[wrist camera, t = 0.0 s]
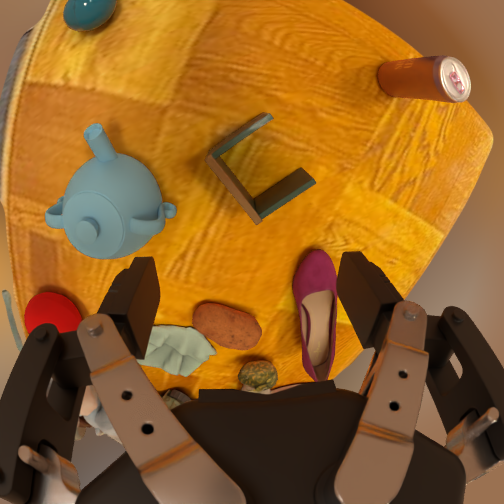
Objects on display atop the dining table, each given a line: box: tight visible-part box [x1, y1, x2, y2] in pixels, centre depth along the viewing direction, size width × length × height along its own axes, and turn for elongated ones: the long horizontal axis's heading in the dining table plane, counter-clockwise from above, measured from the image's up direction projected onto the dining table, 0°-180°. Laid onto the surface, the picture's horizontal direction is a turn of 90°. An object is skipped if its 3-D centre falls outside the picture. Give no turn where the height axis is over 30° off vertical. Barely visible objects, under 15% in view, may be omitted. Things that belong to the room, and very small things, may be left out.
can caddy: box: [204, 113, 316, 225], centre depth 35 cm, size 9×11×7 cm
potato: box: [192, 303, 262, 350], centre depth 49 cm, size 7×13×7 cm, turn 67°
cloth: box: [136, 325, 217, 377], centre depth 54 cm, size 20×22×2 cm
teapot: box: [45, 123, 177, 259], centre depth 32 cm, size 20×20×13 cm
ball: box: [63, 0, 117, 32], centre depth 19 cm, size 8×8×8 cm
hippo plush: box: [46, 377, 117, 436], centre depth 39 cm, size 18×23×18 cm
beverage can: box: [378, 56, 471, 103], centre depth 25 cm, size 6×6×15 cm
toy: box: [160, 389, 191, 410], centre depth 62 cm, size 9×16×10 cm
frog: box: [238, 360, 278, 394], centre depth 58 cm, size 12×13×18 cm
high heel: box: [293, 249, 337, 382], centre depth 46 cm, size 9×26×12 cm, turn 10°
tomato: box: [24, 292, 82, 334], centre depth 43 cm, size 12×14×11 cm
